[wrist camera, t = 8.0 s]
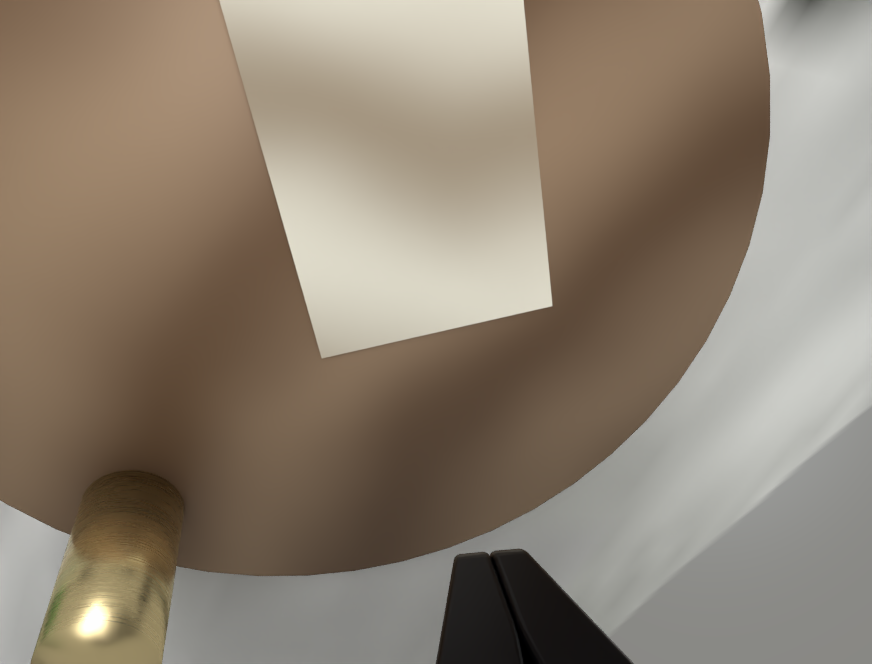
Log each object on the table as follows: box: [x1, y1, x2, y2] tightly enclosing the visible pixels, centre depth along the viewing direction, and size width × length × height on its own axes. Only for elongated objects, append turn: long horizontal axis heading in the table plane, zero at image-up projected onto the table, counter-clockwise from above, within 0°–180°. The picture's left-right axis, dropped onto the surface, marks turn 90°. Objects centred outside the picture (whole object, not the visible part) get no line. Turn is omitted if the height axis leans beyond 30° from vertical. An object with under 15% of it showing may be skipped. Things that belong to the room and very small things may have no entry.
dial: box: [0, 0, 770, 664], centre depth 15 cm, size 20×20×6 cm
